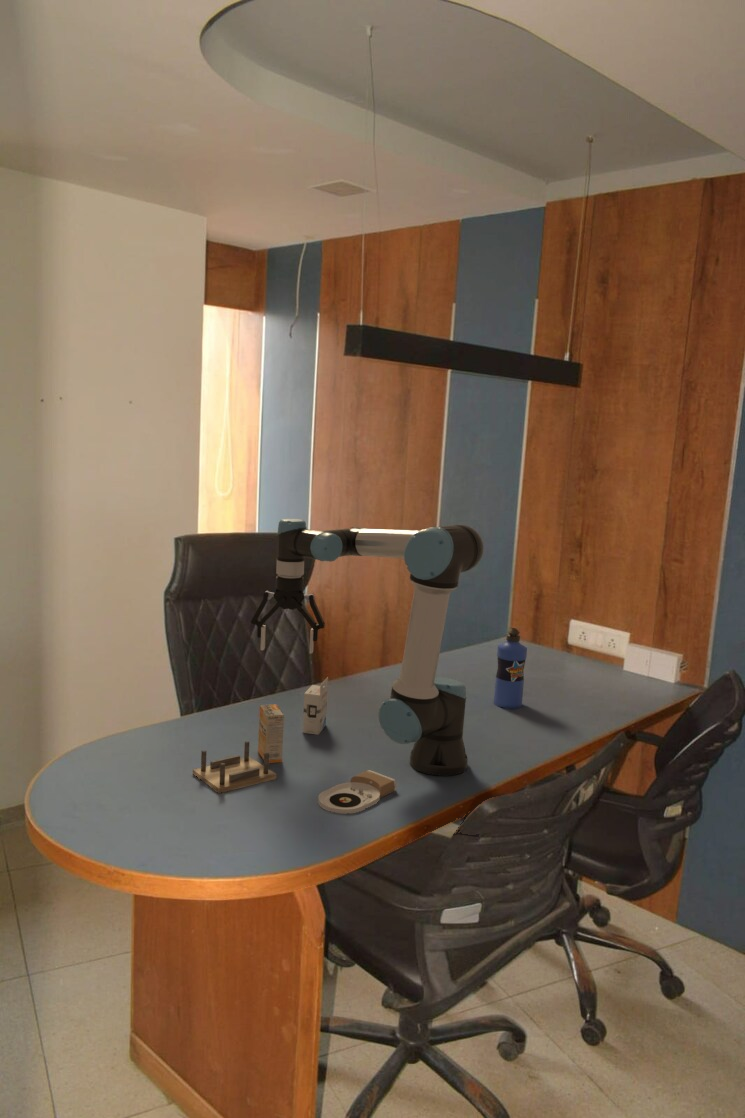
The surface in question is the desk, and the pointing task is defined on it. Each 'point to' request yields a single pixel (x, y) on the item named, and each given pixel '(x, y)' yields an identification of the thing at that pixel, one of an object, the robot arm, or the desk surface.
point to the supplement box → (271, 732)
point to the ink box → (315, 708)
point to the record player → (357, 793)
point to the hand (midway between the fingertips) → (287, 650)
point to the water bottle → (510, 672)
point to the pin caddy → (234, 771)
